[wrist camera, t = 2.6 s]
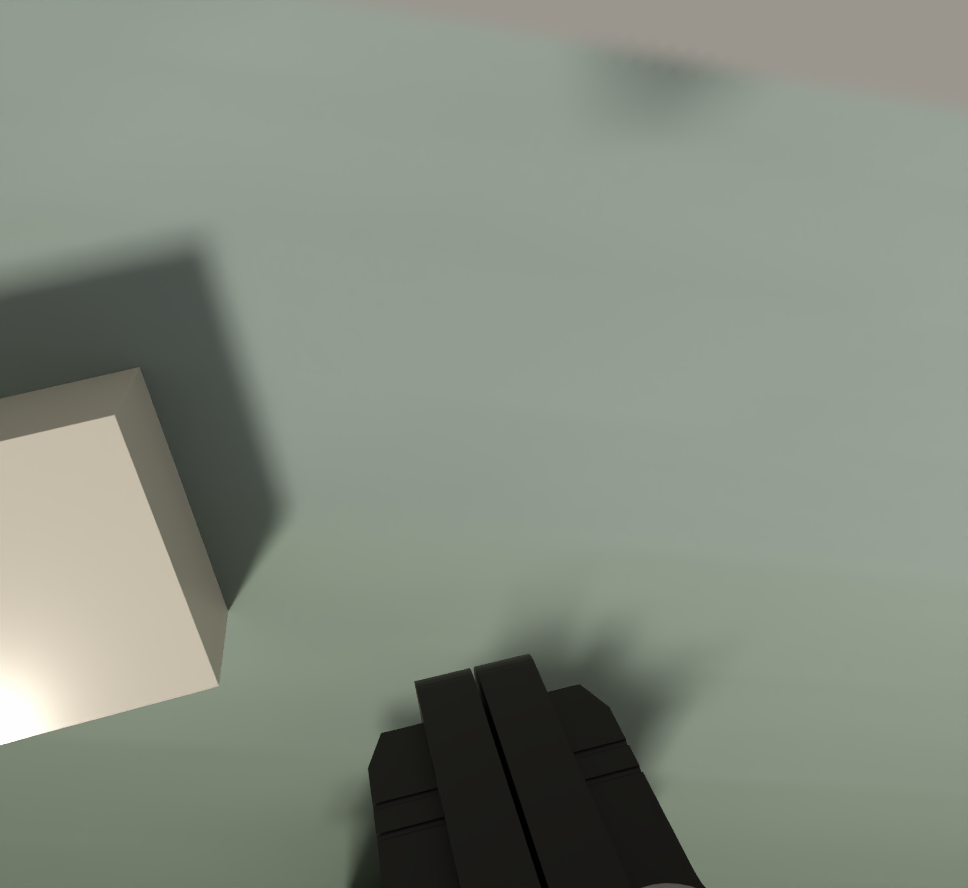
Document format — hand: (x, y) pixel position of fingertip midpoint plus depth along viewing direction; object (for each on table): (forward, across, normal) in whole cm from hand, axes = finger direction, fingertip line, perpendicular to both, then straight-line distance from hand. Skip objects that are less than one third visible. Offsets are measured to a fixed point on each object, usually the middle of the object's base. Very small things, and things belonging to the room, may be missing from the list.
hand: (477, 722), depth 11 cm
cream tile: (+9, +8, 0) cm, 12 cm away
